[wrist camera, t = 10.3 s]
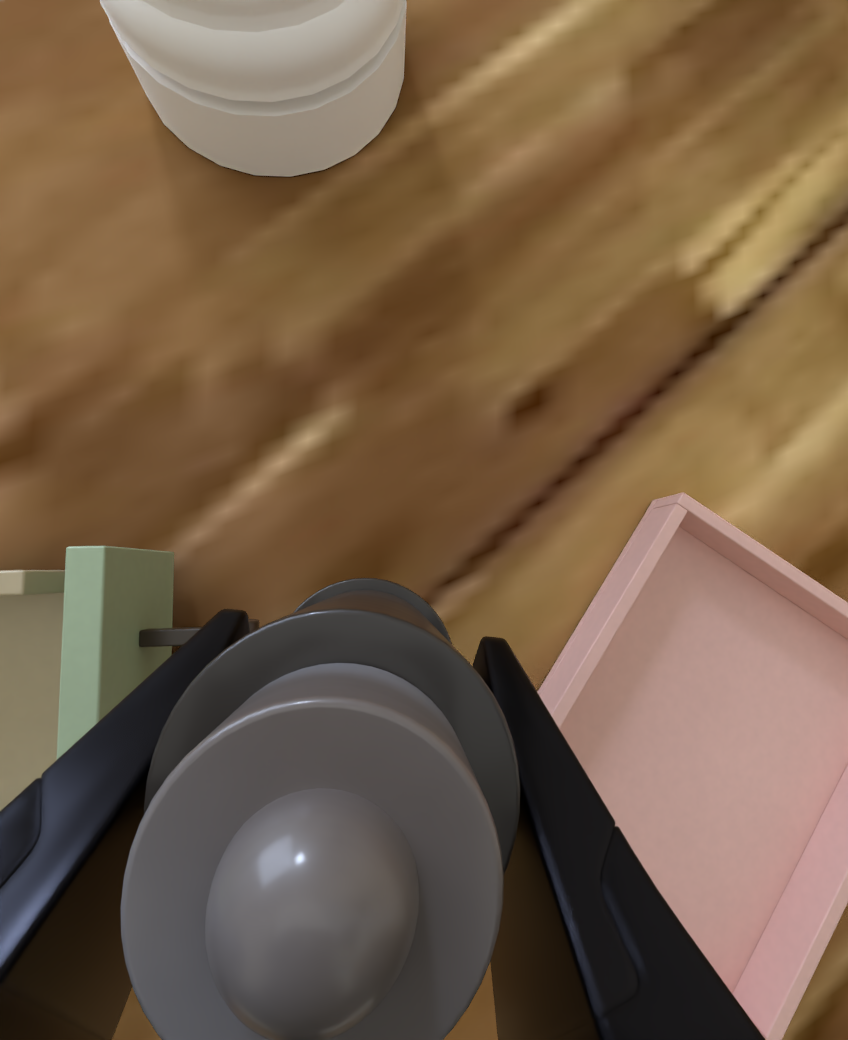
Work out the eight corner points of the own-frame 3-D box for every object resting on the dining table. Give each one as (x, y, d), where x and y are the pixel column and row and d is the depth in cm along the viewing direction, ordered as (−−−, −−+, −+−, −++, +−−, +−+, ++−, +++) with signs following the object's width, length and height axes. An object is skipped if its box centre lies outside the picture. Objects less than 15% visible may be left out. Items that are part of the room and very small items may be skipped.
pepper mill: (398, 786, 14) (452, 1600, 3) (244, 701, 14) (-309, 1201, 3) (480, 629, 14) (782, 800, 3) (334, 547, 14) (173, 459, 3)
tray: (727, 1006, 22) (771, 1062, 19) (456, 826, 22) (465, 859, 19) (898, 665, 24) (957, 676, 21) (652, 499, 24) (683, 491, 21)
